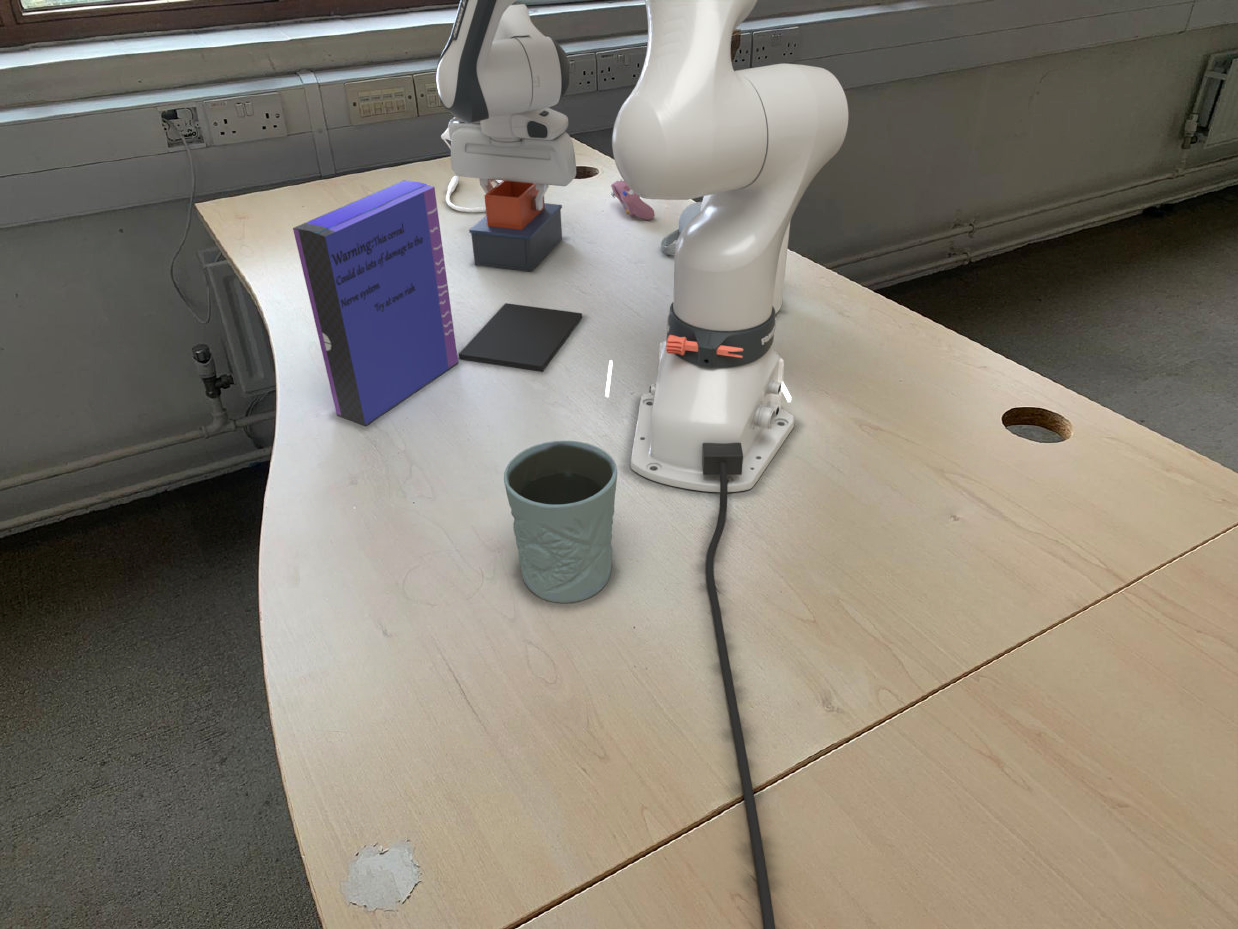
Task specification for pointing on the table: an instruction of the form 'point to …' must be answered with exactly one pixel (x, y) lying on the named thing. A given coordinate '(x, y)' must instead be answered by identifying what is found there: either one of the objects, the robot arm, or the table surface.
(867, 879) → the table surface
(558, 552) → the green embossed cup
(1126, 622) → the table surface
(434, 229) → the purple flat upright box
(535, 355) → the mat
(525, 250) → the storage box
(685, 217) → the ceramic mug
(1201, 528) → the table surface
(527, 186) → the top tub
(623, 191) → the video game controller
